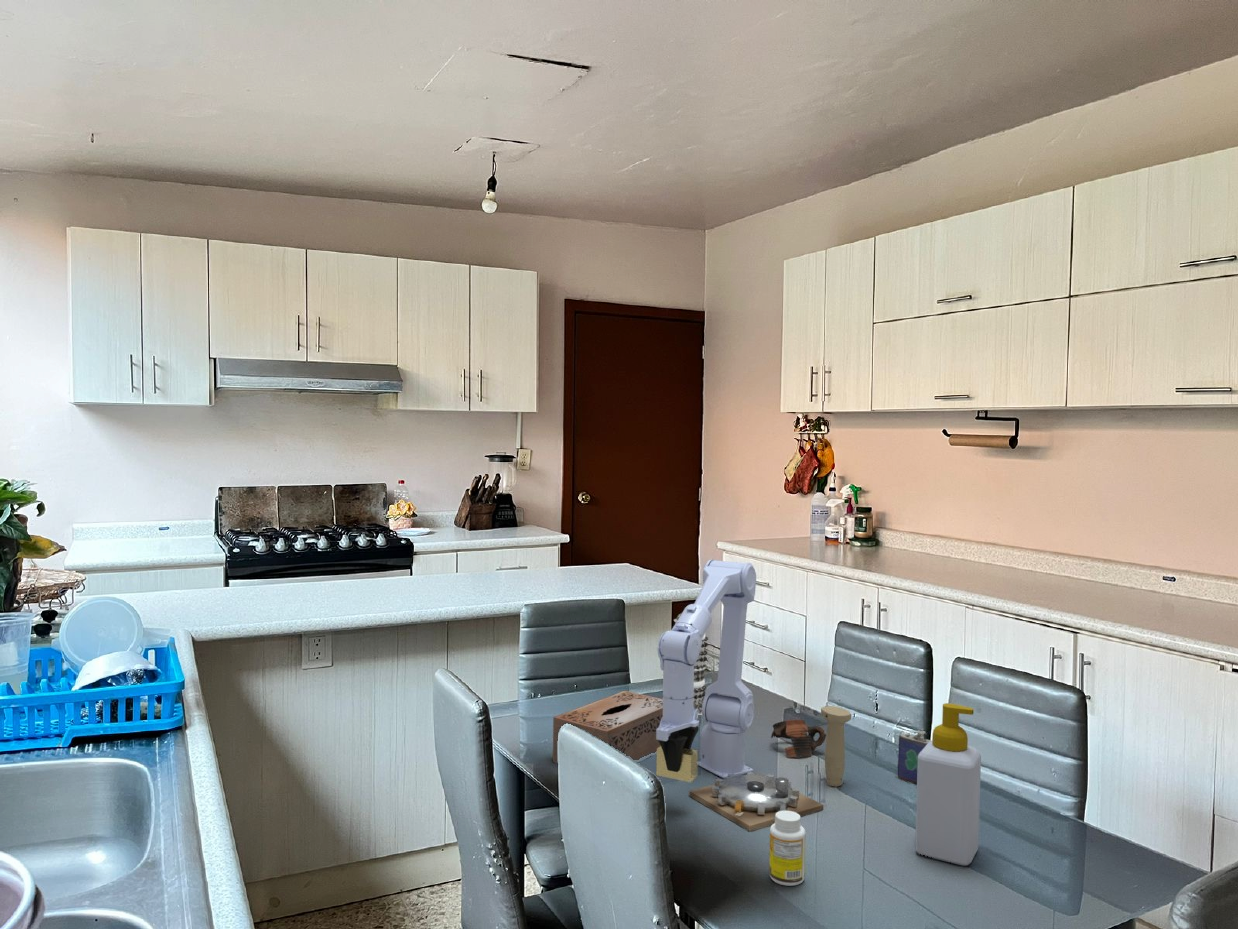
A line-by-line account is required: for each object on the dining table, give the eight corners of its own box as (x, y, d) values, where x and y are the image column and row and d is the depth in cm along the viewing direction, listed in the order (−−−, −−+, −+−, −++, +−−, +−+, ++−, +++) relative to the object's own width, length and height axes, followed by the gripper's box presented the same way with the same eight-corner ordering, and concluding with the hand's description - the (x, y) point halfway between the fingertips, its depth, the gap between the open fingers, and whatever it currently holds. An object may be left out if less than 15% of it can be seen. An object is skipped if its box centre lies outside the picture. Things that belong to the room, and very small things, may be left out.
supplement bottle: (780, 866, 146) (781, 805, 146) (810, 878, 143) (812, 814, 143) (762, 879, 142) (763, 816, 142) (793, 891, 139) (794, 826, 138)
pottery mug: (773, 760, 196) (766, 722, 199) (779, 766, 204) (772, 729, 208) (828, 751, 193) (820, 712, 197) (832, 757, 201) (823, 720, 205)
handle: (834, 792, 178) (836, 717, 177) (814, 780, 183) (816, 707, 183) (854, 788, 180) (856, 714, 179) (833, 776, 185) (835, 705, 185)
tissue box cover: (606, 780, 183) (607, 731, 182) (552, 763, 191) (553, 717, 191) (675, 745, 203) (676, 702, 203) (624, 732, 212) (624, 690, 212)
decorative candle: (708, 719, 222) (710, 618, 221) (671, 718, 222) (672, 618, 221) (705, 707, 231) (707, 611, 230) (669, 707, 231) (671, 610, 230)
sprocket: (708, 809, 165) (708, 785, 165) (716, 776, 181) (716, 754, 181) (799, 818, 162) (799, 794, 162) (799, 783, 178) (799, 761, 178)
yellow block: (656, 775, 168) (656, 747, 168) (663, 770, 171) (663, 743, 171) (690, 782, 165) (691, 754, 165) (697, 777, 167) (697, 749, 167)
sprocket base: (689, 796, 174) (689, 790, 174) (759, 778, 184) (759, 772, 184) (749, 831, 159) (750, 825, 159) (823, 810, 169) (823, 803, 169)
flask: (944, 786, 181) (945, 734, 181) (939, 790, 179) (940, 737, 179) (900, 774, 187) (901, 724, 187) (894, 778, 185) (895, 727, 185)
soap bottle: (969, 869, 146) (973, 717, 146) (913, 855, 151) (917, 707, 150) (979, 848, 154) (983, 703, 153) (926, 835, 159) (929, 694, 158)
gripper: (682, 709, 159) (680, 785, 159) (712, 689, 172) (711, 759, 172) (646, 703, 162) (645, 777, 163) (679, 683, 175) (678, 752, 175)
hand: (677, 767), depth 168 cm, fingers closed on yellow block, 3 cm apart
